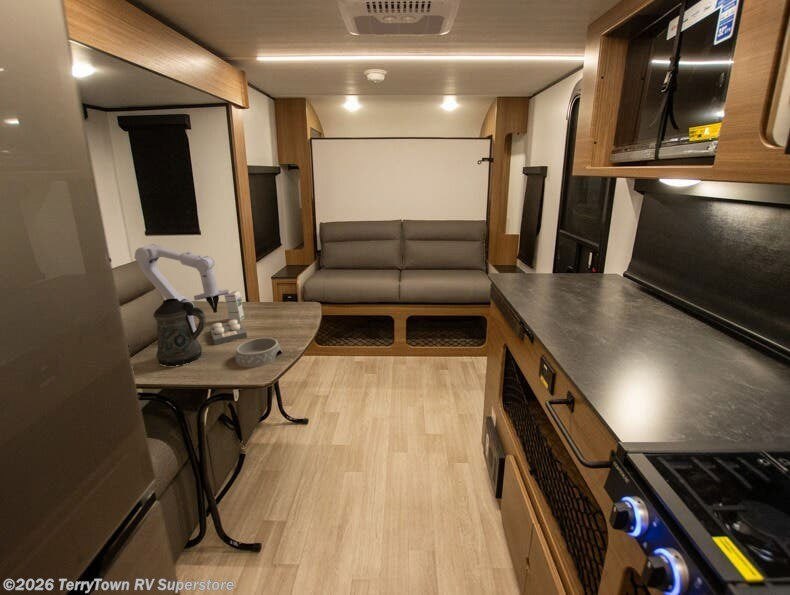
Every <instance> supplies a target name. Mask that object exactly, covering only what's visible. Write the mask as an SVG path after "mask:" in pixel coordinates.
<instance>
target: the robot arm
mask: <svg viewBox="0 0 790 595" xmlns="http://www.w3.org/2000/svg"><path fill="white" fill-rule="evenodd" d="M160 258H166V259H169V260H174V261H179V262H180V264H181V265H183V266H187V267H190V268H194V269H196V270H197V271H198V272H199V277H200V279H201V280H200V282H201V284H202V285H201V286H202V290H203V293H199V294H196V295H193V300H194V301H195V302H196V301H198V300H199V301H200V300H206V302H207V303H208V305H209V306H210V307H211V309H212V311H213V313H214V314H215V313H218V303H219V300H220V297H219V296H221V297H222V296H224V295H228V294H229V292H230V290H228V289H222V290H221V289H220V290H218V285H217V280H216V277H215V276H216V275H215V271H214V266H215V260H214V259H213V258H212V257H210V256H208V255H205V256H203V255H200V254H199V255H198V254H193V253H192V252H191V251H185V252H183V253H182V252H178V251H175V250H172V249H169V248H167V247H164V246H162V245H158V244H154V243H152V244H149V245H146V246H143V247H138V248H137V249H136V250H135V252H134V259H135V261H136V262H137V263H138V266H139V267H140V271H141V272H142V274H144V276H145V277H146V278H147V279H148V281H150V283H151V284H152V285H153V286H154V287H155V288H156V290H157V291H158V292H159V293H160V294H161V295H162V296H163V297H164V299H165V300H166V299H173V298H174V299H178V300H179V301H181V302H190V303H192V304H193V307H194V308H195V304H194V303H193V301H192V300H190V299H188V298H187V297H186V296H184V295H183V294H179V292H178V291H177V290H176V289H175V288H174V287H173V286H172V285H171V283H170V282H169V280H167V278H166V277H165V276H164V275H163V274H162V273H161V272H160V270H159V269H158V268H157V263H158V260H159V259H160ZM194 317H195V316H194V315H192V316H188V318H189V321H190V324H191V326H192V329H193V332H195V331H196V329H197V327H196V322H195V318H194Z"/></svg>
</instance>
